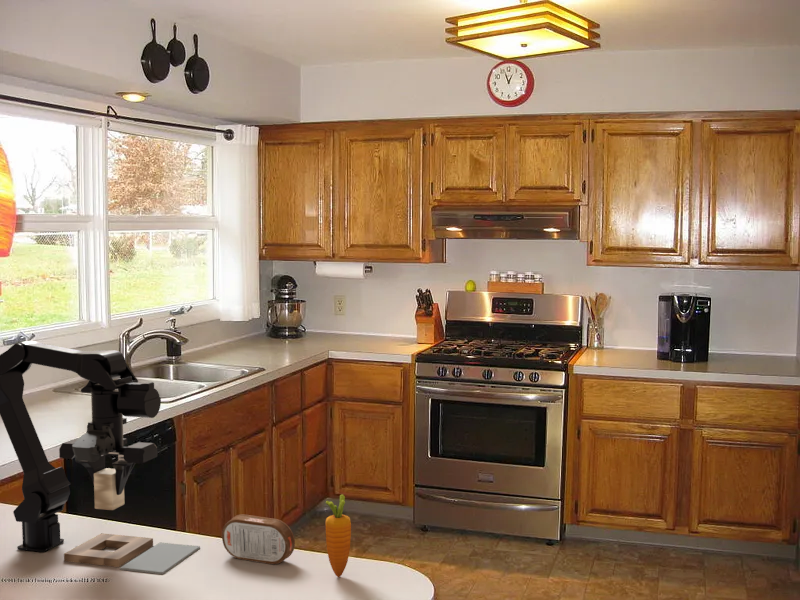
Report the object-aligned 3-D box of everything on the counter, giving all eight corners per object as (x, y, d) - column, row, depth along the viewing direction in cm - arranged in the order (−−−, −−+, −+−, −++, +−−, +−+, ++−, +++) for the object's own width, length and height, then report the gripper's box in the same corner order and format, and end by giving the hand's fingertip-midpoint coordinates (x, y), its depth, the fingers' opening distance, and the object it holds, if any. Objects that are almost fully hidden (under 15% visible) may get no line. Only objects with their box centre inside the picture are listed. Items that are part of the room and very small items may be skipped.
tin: (296, 562, 162) (295, 519, 162) (288, 568, 159) (287, 524, 159) (228, 552, 168) (227, 511, 167) (219, 558, 165) (218, 515, 164)
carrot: (331, 584, 152) (330, 502, 151) (320, 574, 156) (320, 494, 155) (356, 579, 154) (355, 498, 153) (345, 569, 158) (344, 491, 157)
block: (94, 508, 165) (93, 473, 165) (107, 502, 169) (106, 468, 169) (112, 510, 164) (111, 474, 164) (124, 504, 168) (123, 469, 168)
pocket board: (64, 561, 163) (63, 553, 163) (101, 540, 175) (101, 533, 175) (118, 567, 160) (118, 559, 160) (153, 545, 172) (152, 538, 172)
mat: (120, 569, 159) (120, 567, 159) (160, 544, 172) (160, 542, 172) (162, 574, 157) (162, 572, 157) (199, 548, 170) (199, 546, 170)
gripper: (39, 421, 160) (41, 502, 161) (125, 426, 156) (127, 509, 157) (76, 410, 171) (78, 486, 172) (158, 414, 166) (159, 492, 167)
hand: (109, 493), depth 167 cm, fingers closed on block, 4 cm apart
